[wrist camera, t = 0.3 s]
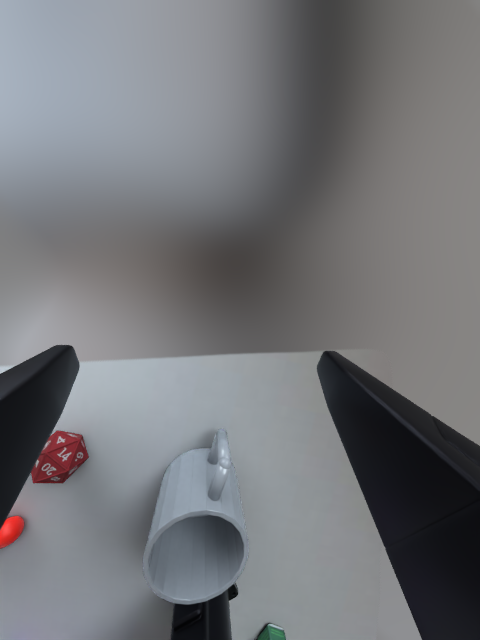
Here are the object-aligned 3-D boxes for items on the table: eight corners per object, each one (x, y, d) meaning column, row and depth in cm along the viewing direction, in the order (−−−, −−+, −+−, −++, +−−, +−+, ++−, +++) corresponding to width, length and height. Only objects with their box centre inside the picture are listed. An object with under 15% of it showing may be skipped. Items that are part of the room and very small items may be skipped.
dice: (105, 438, 22) (83, 470, 18) (70, 469, 21) (39, 508, 17) (77, 413, 21) (47, 439, 17) (39, 444, 21) (0, 479, 17)
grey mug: (222, 521, 24) (229, 608, 18) (151, 509, 23) (128, 599, 16) (256, 428, 24) (276, 480, 17) (185, 410, 23) (177, 460, 16)
